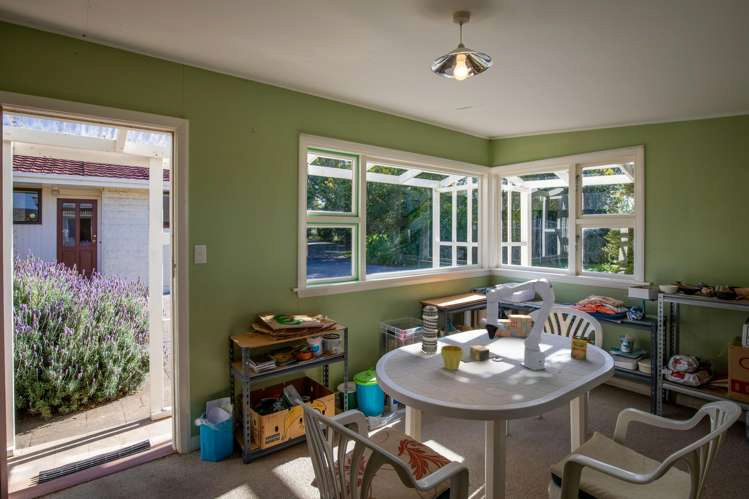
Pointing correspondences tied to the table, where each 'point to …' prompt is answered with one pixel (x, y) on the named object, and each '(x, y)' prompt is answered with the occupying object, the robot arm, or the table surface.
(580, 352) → the crayon box
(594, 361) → the table surface
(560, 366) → the table surface
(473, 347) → the oak block
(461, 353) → the plant pot
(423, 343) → the decorative candle
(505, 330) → the stack of blocks
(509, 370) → the table surface
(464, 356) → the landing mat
